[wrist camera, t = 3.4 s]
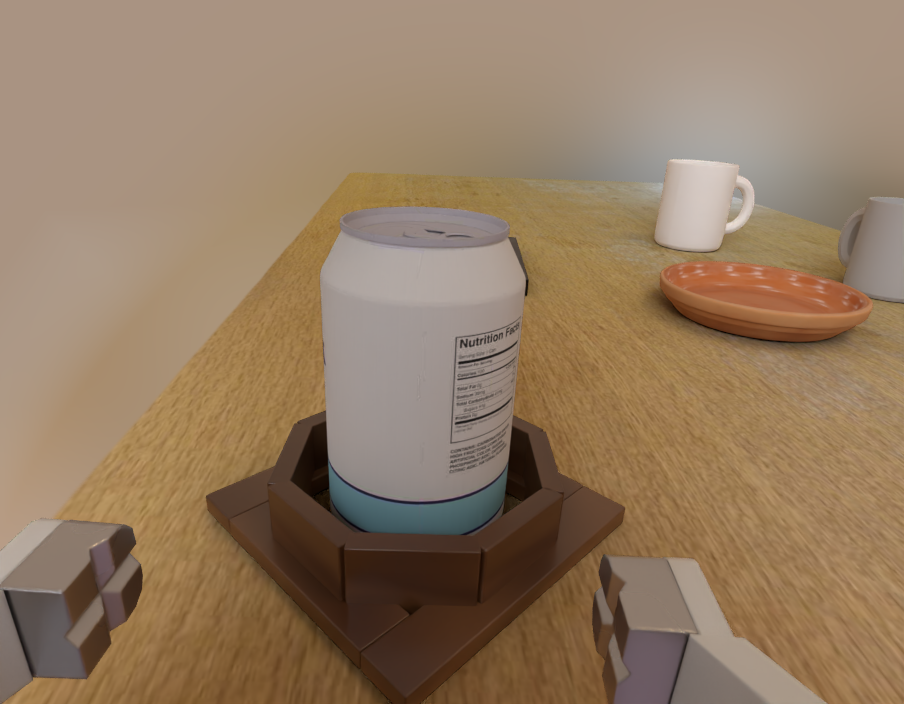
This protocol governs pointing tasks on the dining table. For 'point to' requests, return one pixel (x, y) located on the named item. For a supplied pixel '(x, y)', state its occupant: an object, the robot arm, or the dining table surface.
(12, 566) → the robot arm
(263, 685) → the dining table surface
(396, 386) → the beverage can
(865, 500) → the dining table surface
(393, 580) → the can holder
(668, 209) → the mug
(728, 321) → the saucer
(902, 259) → the cup
